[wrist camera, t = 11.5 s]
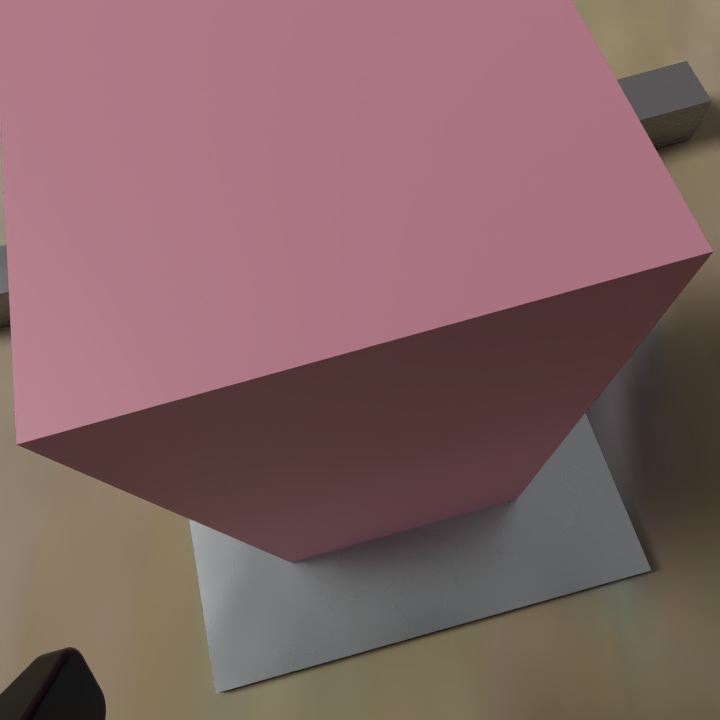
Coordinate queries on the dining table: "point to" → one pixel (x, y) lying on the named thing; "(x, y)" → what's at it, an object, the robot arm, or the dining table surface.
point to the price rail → (433, 529)
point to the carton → (322, 252)
